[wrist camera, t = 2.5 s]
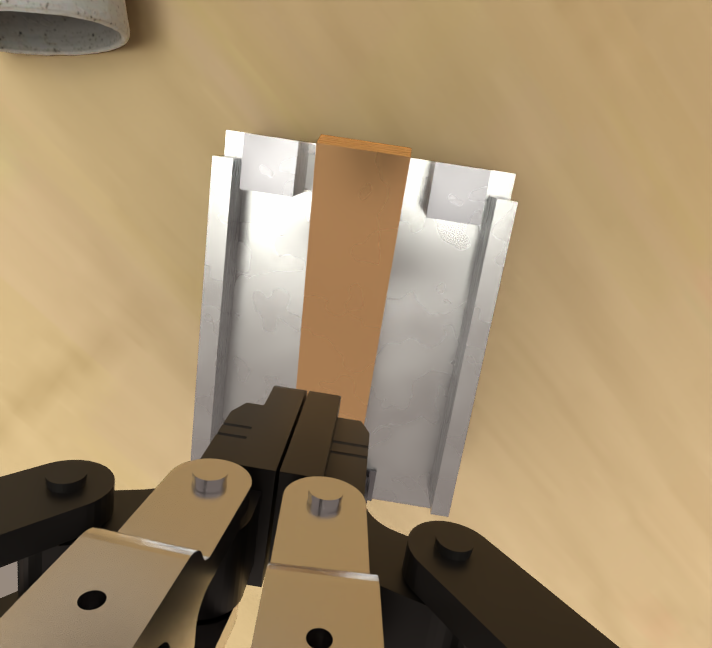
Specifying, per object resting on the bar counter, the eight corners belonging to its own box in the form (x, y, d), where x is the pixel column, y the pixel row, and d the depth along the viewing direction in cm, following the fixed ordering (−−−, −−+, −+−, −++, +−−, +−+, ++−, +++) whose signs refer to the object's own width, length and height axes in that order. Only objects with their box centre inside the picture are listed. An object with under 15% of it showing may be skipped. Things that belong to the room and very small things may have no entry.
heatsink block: (254, 134, 29) (203, 126, 21) (495, 170, 28) (532, 176, 21) (227, 425, 33) (178, 506, 26) (435, 458, 33) (448, 550, 25)
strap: (300, 130, 19) (290, 144, 18) (432, 151, 19) (433, 166, 18) (277, 478, 28) (269, 504, 27) (366, 493, 28) (363, 520, 27)
